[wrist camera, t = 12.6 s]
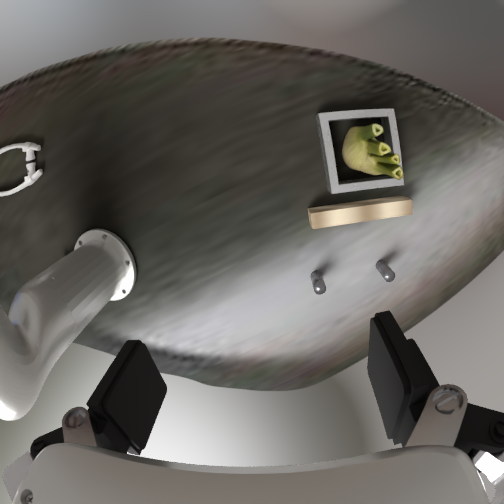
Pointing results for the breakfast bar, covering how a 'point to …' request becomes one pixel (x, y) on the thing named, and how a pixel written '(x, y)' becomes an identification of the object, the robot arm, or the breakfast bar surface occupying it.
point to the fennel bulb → (370, 152)
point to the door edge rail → (359, 211)
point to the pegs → (380, 265)
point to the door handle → (32, 175)
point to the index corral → (328, 153)
